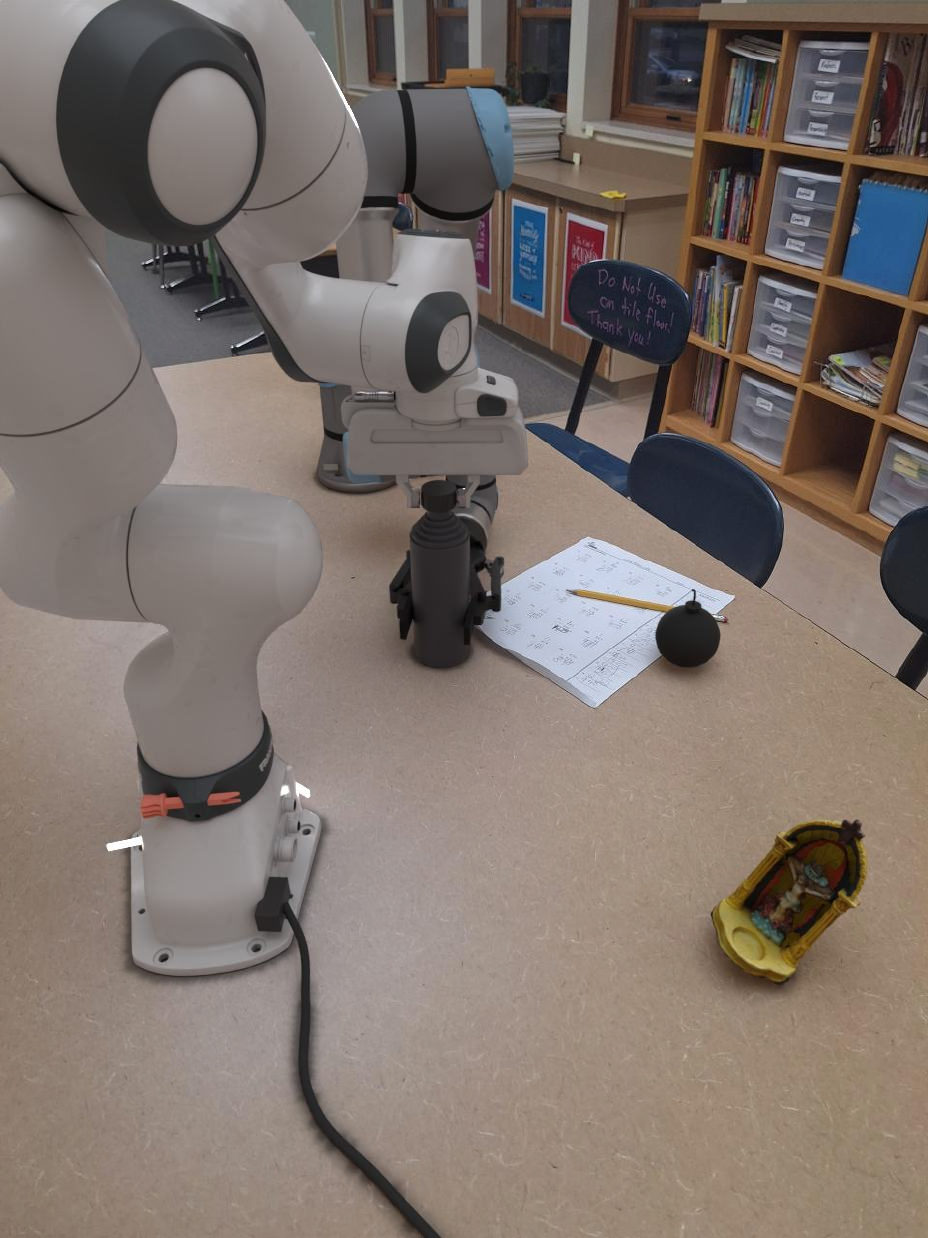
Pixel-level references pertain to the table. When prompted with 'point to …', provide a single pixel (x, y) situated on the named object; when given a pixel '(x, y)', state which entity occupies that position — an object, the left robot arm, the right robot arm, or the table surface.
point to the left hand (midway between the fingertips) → (439, 505)
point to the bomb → (688, 635)
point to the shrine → (792, 897)
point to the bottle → (440, 588)
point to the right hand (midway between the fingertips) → (434, 633)
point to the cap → (438, 496)
